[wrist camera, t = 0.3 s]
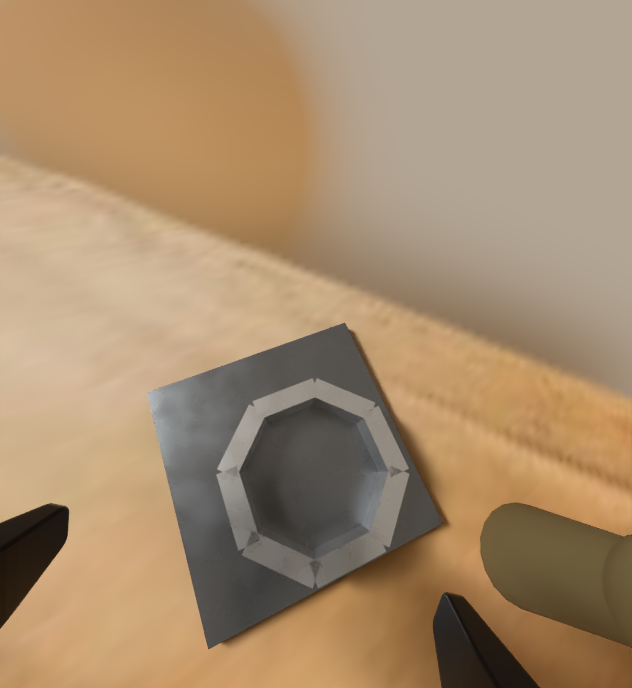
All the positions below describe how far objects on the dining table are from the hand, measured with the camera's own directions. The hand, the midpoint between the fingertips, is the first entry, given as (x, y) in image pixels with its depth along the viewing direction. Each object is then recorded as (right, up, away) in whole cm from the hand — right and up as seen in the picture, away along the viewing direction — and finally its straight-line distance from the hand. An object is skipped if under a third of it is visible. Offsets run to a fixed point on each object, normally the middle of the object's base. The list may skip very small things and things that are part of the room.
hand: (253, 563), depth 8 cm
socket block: (0, -3, +15) cm, 15 cm away
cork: (+15, -9, +14) cm, 22 cm away
